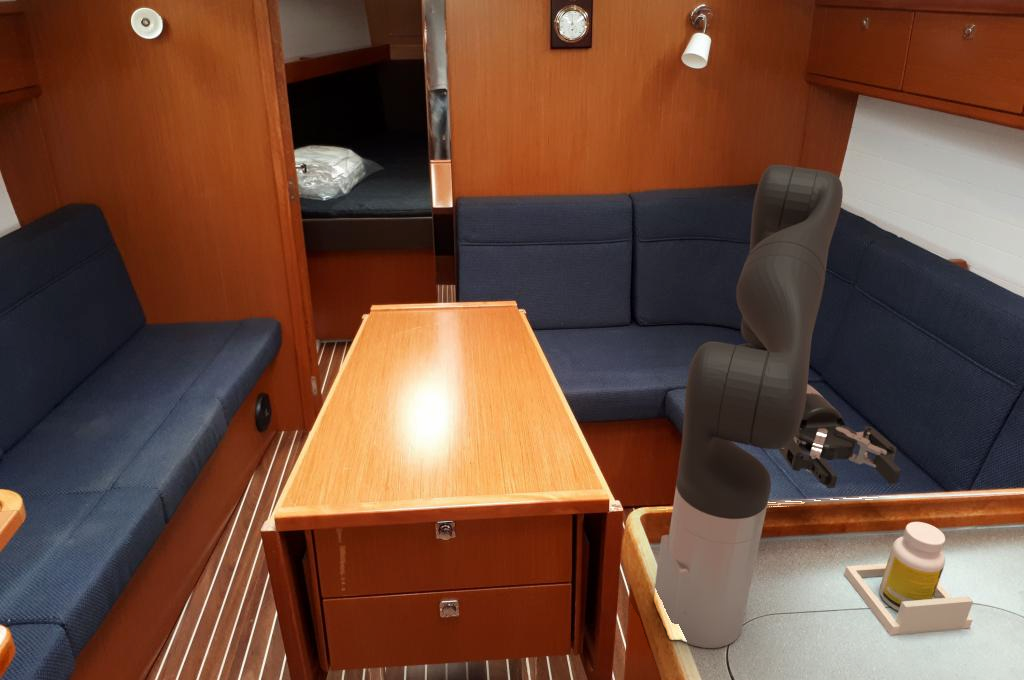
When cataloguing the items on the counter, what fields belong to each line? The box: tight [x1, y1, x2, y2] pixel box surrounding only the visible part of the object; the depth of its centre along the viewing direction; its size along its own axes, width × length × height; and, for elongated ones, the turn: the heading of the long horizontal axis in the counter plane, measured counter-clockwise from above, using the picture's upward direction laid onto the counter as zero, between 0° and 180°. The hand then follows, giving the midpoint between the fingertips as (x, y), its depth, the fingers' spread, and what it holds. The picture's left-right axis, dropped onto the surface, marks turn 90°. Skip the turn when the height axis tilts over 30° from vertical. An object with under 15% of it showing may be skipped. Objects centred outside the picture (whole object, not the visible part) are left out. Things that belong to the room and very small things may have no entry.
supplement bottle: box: [879, 521, 946, 611], centre depth 85 cm, size 5×5×10 cm
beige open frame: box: [843, 562, 974, 636], centre depth 86 cm, size 10×10×4 cm
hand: (865, 480), depth 94 cm, fingers open, 8 cm apart
